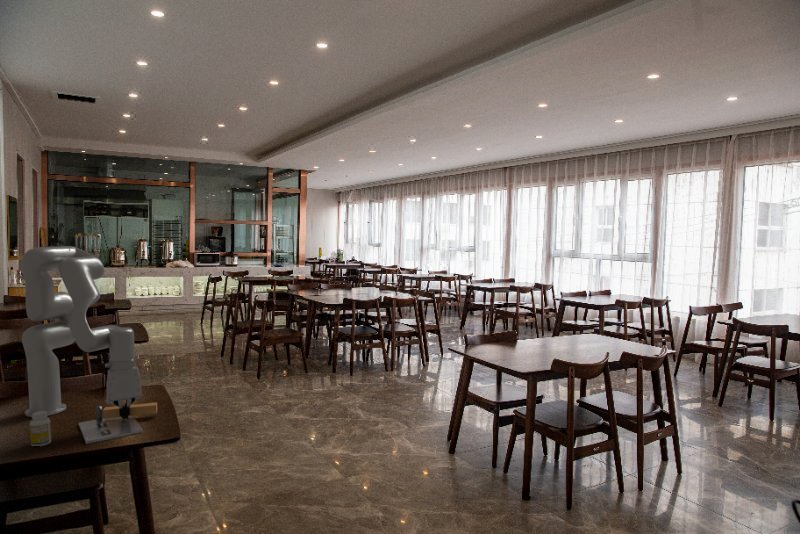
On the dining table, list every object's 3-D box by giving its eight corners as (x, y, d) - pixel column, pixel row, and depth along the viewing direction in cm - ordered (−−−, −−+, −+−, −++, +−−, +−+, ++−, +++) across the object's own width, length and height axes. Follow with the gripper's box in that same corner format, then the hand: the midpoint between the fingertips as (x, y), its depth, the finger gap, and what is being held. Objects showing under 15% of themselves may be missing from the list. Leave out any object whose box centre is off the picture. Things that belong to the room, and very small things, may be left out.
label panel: (78, 425, 182) (77, 409, 181) (131, 415, 191) (130, 399, 191) (86, 444, 166) (85, 426, 165) (143, 432, 175) (142, 415, 175)
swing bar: (103, 418, 184) (103, 410, 183) (105, 415, 186) (105, 407, 186) (156, 413, 188) (155, 405, 188) (157, 410, 191) (157, 402, 191)
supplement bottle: (44, 447, 164) (42, 416, 163) (26, 447, 164) (24, 416, 163) (55, 440, 169) (53, 410, 168) (38, 440, 169) (36, 410, 169)
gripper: (98, 370, 175) (101, 426, 176) (149, 363, 184) (151, 416, 185) (96, 365, 181) (98, 419, 183) (144, 359, 190) (146, 410, 191)
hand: (124, 417), depth 184 cm, fingers closed
